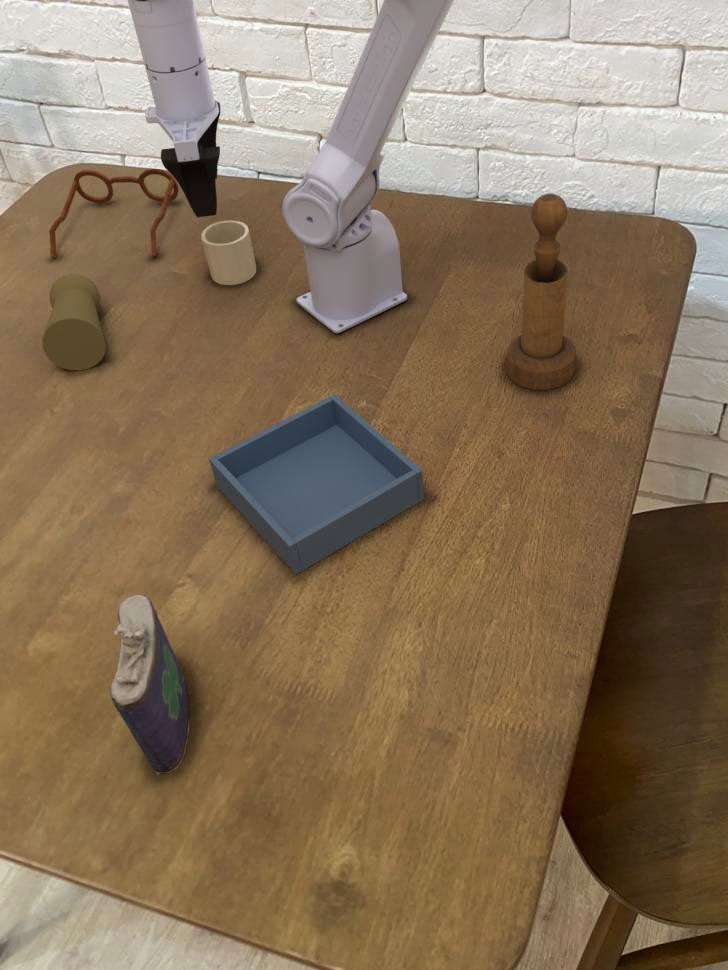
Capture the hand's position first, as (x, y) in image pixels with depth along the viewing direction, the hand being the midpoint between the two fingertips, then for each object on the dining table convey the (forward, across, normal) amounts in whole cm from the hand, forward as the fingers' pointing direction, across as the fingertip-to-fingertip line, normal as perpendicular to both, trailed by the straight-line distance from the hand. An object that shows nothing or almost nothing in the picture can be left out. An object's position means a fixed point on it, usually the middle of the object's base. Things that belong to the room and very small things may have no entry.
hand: (207, 196), depth 98 cm
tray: (+10, +36, +8) cm, 38 cm away
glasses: (+10, -14, -13) cm, 22 cm away
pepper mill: (+7, +13, -15) cm, 21 cm away
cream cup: (+10, -1, +1) cm, 10 cm away
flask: (+10, +57, -4) cm, 58 cm away
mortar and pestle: (+10, +23, +31) cm, 40 cm away
